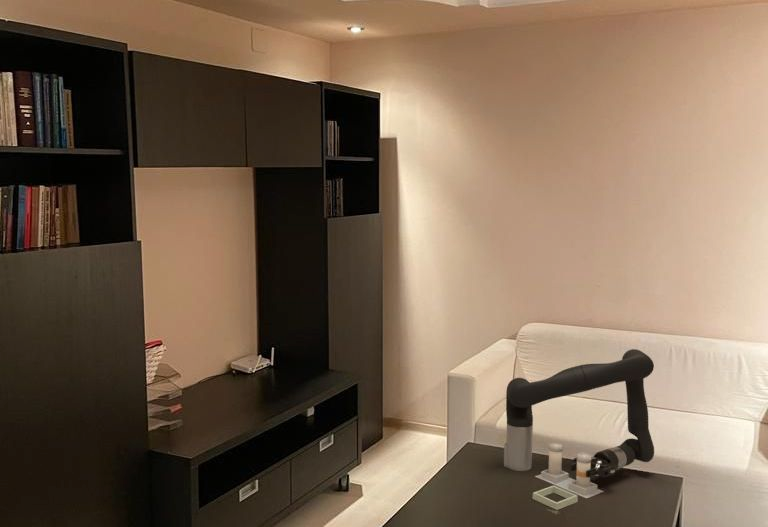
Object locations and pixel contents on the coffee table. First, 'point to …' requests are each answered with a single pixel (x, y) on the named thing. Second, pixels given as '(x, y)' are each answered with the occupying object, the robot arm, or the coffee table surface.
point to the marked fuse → (583, 469)
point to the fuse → (555, 459)
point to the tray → (555, 505)
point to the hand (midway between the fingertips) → (578, 471)
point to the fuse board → (569, 484)
